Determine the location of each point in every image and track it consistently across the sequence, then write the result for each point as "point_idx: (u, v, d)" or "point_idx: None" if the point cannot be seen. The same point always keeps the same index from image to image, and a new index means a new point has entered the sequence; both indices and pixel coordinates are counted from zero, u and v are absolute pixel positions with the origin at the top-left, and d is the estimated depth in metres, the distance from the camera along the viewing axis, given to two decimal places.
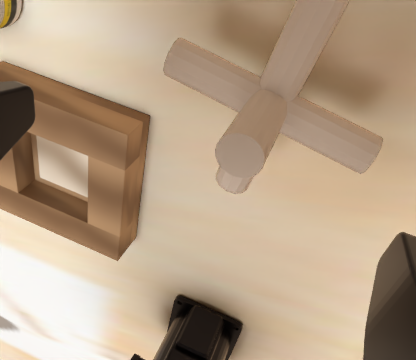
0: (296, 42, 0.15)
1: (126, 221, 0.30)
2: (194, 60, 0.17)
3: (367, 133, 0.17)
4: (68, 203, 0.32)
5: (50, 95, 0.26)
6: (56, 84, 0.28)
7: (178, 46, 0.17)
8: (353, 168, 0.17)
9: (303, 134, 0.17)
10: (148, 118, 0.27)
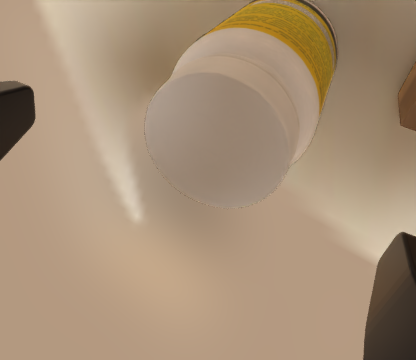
0: None
1: None
2: None
3: None
4: None
5: None
6: None
7: None
8: None
9: None
10: None
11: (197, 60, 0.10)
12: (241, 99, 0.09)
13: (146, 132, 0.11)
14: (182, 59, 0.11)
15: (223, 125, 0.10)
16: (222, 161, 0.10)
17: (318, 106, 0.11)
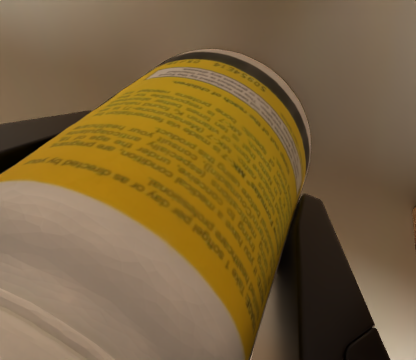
0: None
1: None
2: None
3: None
4: None
5: None
6: None
7: None
8: None
9: None
10: None
11: None
12: None
13: None
14: None
15: None
16: None
17: (241, 355, 0.05)
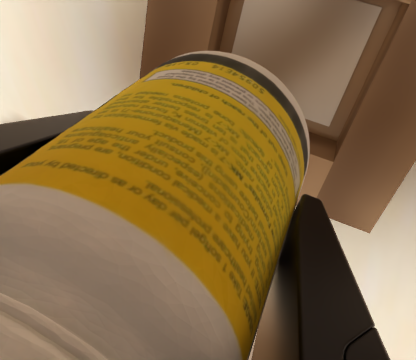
0: None
1: None
2: None
3: None
4: (375, 66, 0.15)
5: None
6: None
7: None
8: None
9: None
10: None
11: None
12: None
13: None
14: None
15: None
16: None
17: (238, 358, 0.05)
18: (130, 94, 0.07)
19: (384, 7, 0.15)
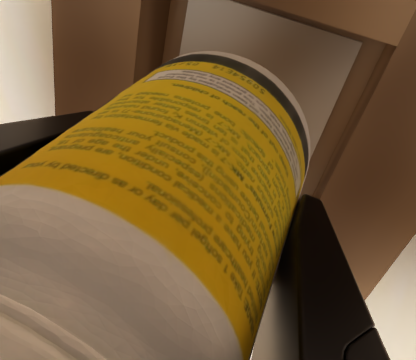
0: None
1: None
2: None
3: None
4: (352, 121, 0.11)
5: None
6: None
7: None
8: None
9: None
10: None
11: None
12: None
13: None
14: None
15: None
16: None
17: (239, 359, 0.05)
18: (130, 95, 0.07)
19: (366, 42, 0.11)
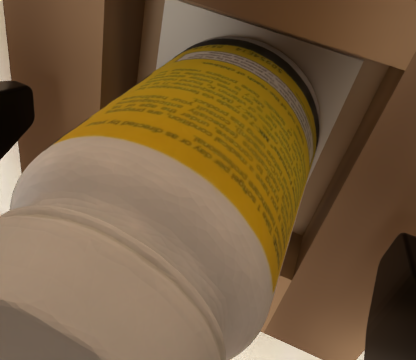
0: None
1: None
2: None
3: None
4: (352, 151, 0.10)
5: None
6: None
7: None
8: None
9: None
10: None
11: (2, 224, 0.05)
12: (62, 355, 0.04)
13: None
14: (17, 185, 0.06)
15: None
16: None
17: (269, 283, 0.06)
18: (166, 71, 0.08)
19: (367, 60, 0.09)
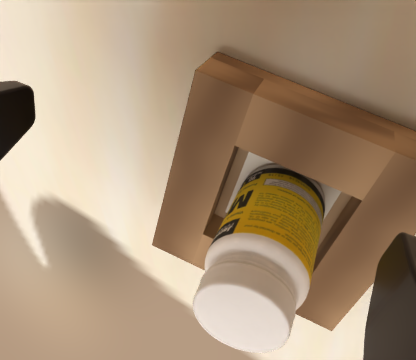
0: None
1: (374, 133, 0.17)
2: None
3: None
4: (339, 223, 0.20)
5: None
6: None
7: None
8: None
9: None
10: (218, 53, 0.20)
11: (232, 265, 0.15)
12: (261, 303, 0.14)
13: (194, 304, 0.16)
14: (218, 247, 0.17)
15: (248, 312, 0.15)
16: (245, 328, 0.16)
17: (309, 285, 0.16)
18: (262, 193, 0.19)
19: None
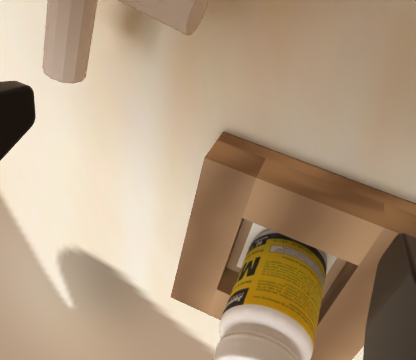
0: None
1: (365, 208, 0.19)
2: (46, 45, 0.16)
3: None
4: (340, 280, 0.23)
5: None
6: None
7: (43, 62, 0.17)
8: None
9: None
10: (224, 134, 0.22)
11: (243, 337, 0.18)
12: None
13: None
14: (231, 316, 0.19)
15: None
16: None
17: (312, 348, 0.19)
18: (268, 261, 0.21)
19: None
